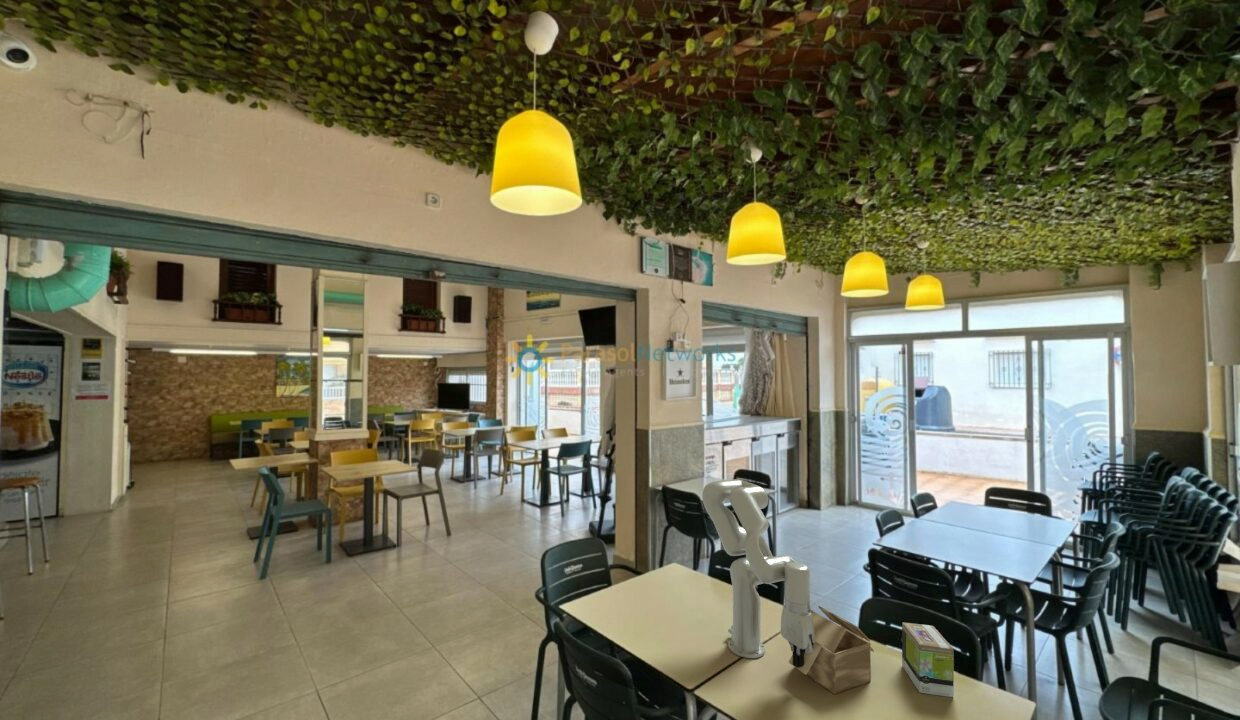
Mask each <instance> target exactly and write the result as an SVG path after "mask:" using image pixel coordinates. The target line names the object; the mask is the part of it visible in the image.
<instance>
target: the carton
mask: <svg viewBox="0 0 1240 720" xmlns="http://www.w3.org/2000/svg"><path fill="white" fill-rule="evenodd" d="M830 621H831V620H830ZM831 622H833V621H831ZM833 623H835V622H833ZM839 626H840V625H839ZM840 627H841V626H840ZM814 643H816V644H817V645H819V646H820V647H822V648H821V650H820V652H819V653H818V655H817V657H816V659H815V660H814V662H813V664H812V666H811V667H810V669H809V671H808V673H807V674H806V676H808V678H810V679H812V680H813V681H815V682H816V683H817V684H819V686H821V687H823V688H825V689H826V690H827V691H829V692H830V693H831V694H833V695H837V694H840V693H843V692H847V691H848V690H851V689H855V688H857V687H859V686H863V685H865V684H866V685H867V684H869V683H871V680H872V679H871V677H872V676H871V675H872V674H871V673H872V672H871V669H872V666H871V652H872V651H871V650H870V647H871V643H870V642H869V641H867V640H865V639H864V638H863V639H862V638H860V637H858V636H857V635H855V634H853V633H851V632H850V631H848V630H846V632H845V634H844V636H843V637H842V639H841V641H840V643H839V644H838V646H837V648H836V650H835V652H834V653H833V652H831V651H830V650H828V649H827V648H825V647H824V646H822V645H820V644H819V643H817V642H816V641H814Z"/></svg>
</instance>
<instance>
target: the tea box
mask: <svg viewBox="0 0 1240 720" xmlns="http://www.w3.org/2000/svg"><path fill="white" fill-rule="evenodd" d="M901 635H902V636H901V666H902V668H903V669H904V671H905V672H906V674H907V676H909V678H910V680H911V682H912V683H913V685H914V686H915V687H916V689H917V691H918V692H919V693H921V694H927V695H934V696H938V697H939V696H940V697H941V696H942V697H949V698H953V697H954V690H955V689H954V687H955V686H954V680H955V679H954V677H955V676H954V675H955V674H954V673H955V672H954V668H955V667H954V666H955V664H954V663H955V661H954V660H955V659H954V656H955V655H954V651H955V650H954V648H953V647H952V645H951V644H950V643H949V642H948V641H947V640H946V639H945V637H943V635H942V634H941V633H940V632H939V630H938V629H936V627H935V626H934V625H929V624H919V623H911V622H905V621H904V622H902V624H901Z"/></svg>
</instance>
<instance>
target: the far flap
mask: <svg viewBox="0 0 1240 720" xmlns="http://www.w3.org/2000/svg"><path fill="white" fill-rule="evenodd" d="M818 608H819V610H820V611H821V612H822V613H823V614H824V615H825V616H826V617H827V619H828V620H830V621H832V622H834V623H835V624H837V625H839V626H841V627H842V628H844V629H846V630H848V631H850V632H851V633H853V634H855V635H857V636H858V637H860V638H862V639H864V640H866V641H867V642H869V643H870V642H871V639H869V637H868V636H867V635H866V634H865V633H864V632H863V631H862V630H861V628H860V627H858V626H857V625H856V624H853V623H851V622H850V621H847V620H846V619H844V618H842V617H840V616H839V615H837V614H834V613H833V612H832V611H829V610H828V609H826V608H823V606H820V605H818ZM870 651H871V652H872V653H874V652H875V650H874V649H873V648H872V647H871V646H870Z"/></svg>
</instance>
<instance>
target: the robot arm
mask: <svg viewBox="0 0 1240 720" xmlns="http://www.w3.org/2000/svg"><path fill="white" fill-rule="evenodd" d="M701 495H702V503H703V507H704V509H705V511H706V513H707V515H709V518H710V519H711V521H712V523H713V524H714V527H715V530H716V532H717V534H718V537H719V540H720V541H721V544H722V546H723V549H724V551H725V553H726V554H727V555H729V556H730V557H736V556H737V557H738V556H743V555H745V557H740V558H738V559H735V560H734V561H733V562H732V563H731V565H730V568H729V573H730V579H731V584H732V625H731V626H730V628H728V629H727V633H728V634H730V636H731V638H730V639H729V640H728V645H727V646H728V650H729V651H730V652H732V654H734V655H736V656H738V657H741V658H745V659H757V658H761V657H762V656H764V655H765V654H766V647H765V645H764V644H763V642H761V609H762V607H761V605H762V604H761V598H760V595H759V593H758V590H757V589H756V586H759V585H762V584H766V585H770V584H773V583H778V582H782V581H783V582H784V596H783V599H784V604H783V606H782V611H781V618H780V635H781V636H782V638H784V639H785V640H786V641H787V642H788V643H789V646H790V651H791V652H792V655H793V665H794V666H795V667H794V666H793V665H792V666H793V667H794V668H796V667H797V668H798V667H801V666H803V665H804V654H805V653H808V654H811V653H813V650H812V647H813V646H814V626H813V619H812V614H811V613H810V610H811V579H810V578H811V573H810V568H809V567H808V565H806V564H804V563H801V562H798V561H797V560H796V559H795V560H794V559H793V558H792V557H791V556H789V555H786V554H781V555H775V556H774V555H773V554H772V551H771V550H770V548H769V545H768V543H767V541H766V538H765V537H764V535H763V534H765V532H766V531H768V529H769V526H770V524H769V521H768V520H767V518H766V516H765V515H764V513H763V511H762V509H763V510H764V509H766V507H767V506H768V505H769V496H768V494H767V492H766V491H765V490H764V488H763V487H761V486H760V485H757V484H754V483H752V482H749V481H746V480H743V479H740V478H739V479H738V478H736V479H726V480H716V481H712V482H708V483H707V484H706V485H705V486H704V487H703V489H702V494H701ZM725 504H730V505H731V507H732V509H733V511H734V512H735V513H733V512H732V510H730V508H728V507H727V506H725ZM735 514H736V516H737V518H738V519H737V518H736V516H735ZM738 520H739V522H740V524H741V526H740V524H739V522H738ZM797 668H796V669H797Z"/></svg>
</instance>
